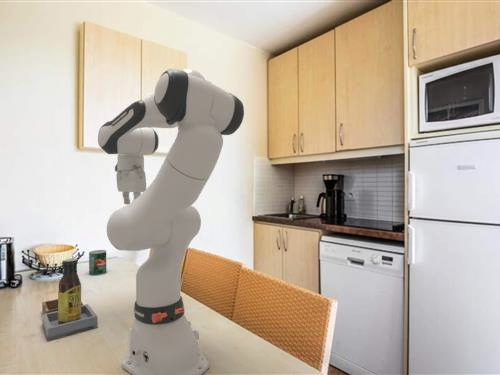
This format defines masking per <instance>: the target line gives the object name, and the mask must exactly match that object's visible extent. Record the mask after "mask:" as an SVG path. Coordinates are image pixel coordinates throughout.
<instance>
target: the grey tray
mask: <svg viewBox="0 0 500 375" xmlns="http://www.w3.org/2000/svg"><path fill="white" fill-rule="evenodd" d="M41 318H42V320H41V324H42V329H43V331H44V333H45V336H46V339H47V342H49V341H53V340H58V339H60V338H64V337H68V336H72V335H75V334H79V333H83V332H85V331H87V332H88V331H89V330H93V329H97V328H98V324H99V323H98V321H99V319H98V315H97V314H96V313H95V311H94V309H92V308H91V306H90V305H89V304H88V303H87V304H83V305H81V318H80V320H76V321H72V322H68V323H64V324H60V325H58V322H59V321H58V311H55V312H51V313H46V314H43V313H42V316H41Z"/></svg>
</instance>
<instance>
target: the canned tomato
mask: <svg viewBox="0 0 500 375" xmlns="http://www.w3.org/2000/svg"><path fill="white" fill-rule="evenodd" d="M88 273H89V276H92V277H93V276H102V275H106V274H107V250H106V249H95V250H91V251H89V252H88Z"/></svg>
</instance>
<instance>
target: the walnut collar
mask: <svg viewBox="0 0 500 375" xmlns="http://www.w3.org/2000/svg"><path fill="white" fill-rule="evenodd" d="M41 304H42V306H41V307H42V312H41V313H42V314H46V313H51V312H55V311H58V298H56V299H52V300H51V299H50V300H47V301H43V302H41ZM81 305H84V303H83V301H81Z"/></svg>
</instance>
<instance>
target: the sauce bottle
mask: <svg viewBox="0 0 500 375" xmlns="http://www.w3.org/2000/svg"><path fill="white" fill-rule="evenodd" d="M78 260H79V259H77V258H69V259H68V258H67V259H63V260H62V266H63V267H62V269H63V270H62V277H61V279H60V280H59V283H58V292H57V299H58V321H59V322H58V325H60V324H64V323H68V322H72V321H76V320H80V318H81V302H82V284H81V280H80V278H79V275H78Z"/></svg>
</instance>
